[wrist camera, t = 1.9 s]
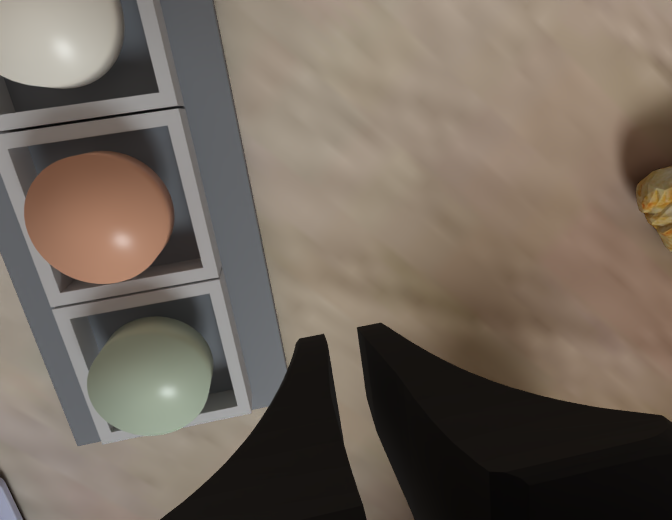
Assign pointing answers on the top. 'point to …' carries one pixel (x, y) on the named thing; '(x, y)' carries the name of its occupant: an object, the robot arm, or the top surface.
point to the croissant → (657, 202)
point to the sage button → (151, 376)
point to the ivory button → (59, 41)
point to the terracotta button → (99, 216)
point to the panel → (189, 211)
